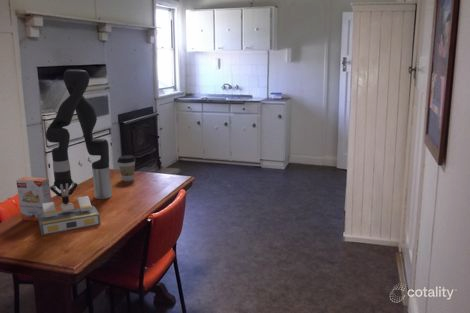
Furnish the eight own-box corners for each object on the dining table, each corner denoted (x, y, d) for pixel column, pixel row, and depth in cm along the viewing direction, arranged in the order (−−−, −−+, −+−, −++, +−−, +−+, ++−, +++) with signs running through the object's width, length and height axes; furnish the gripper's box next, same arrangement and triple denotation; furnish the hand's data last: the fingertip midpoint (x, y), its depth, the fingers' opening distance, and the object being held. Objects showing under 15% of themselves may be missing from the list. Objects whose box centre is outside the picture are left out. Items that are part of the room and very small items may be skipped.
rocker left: (42, 207, 216) (42, 203, 215) (53, 205, 218) (53, 201, 217) (44, 217, 209) (44, 213, 208) (56, 215, 211) (56, 211, 210)
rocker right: (77, 200, 223) (77, 197, 222) (88, 199, 225) (87, 195, 224) (81, 211, 216) (80, 208, 215) (91, 210, 219) (91, 206, 217)
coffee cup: (116, 182, 286) (114, 158, 282) (123, 177, 297) (121, 154, 293) (133, 182, 284) (131, 159, 280) (139, 177, 295) (138, 155, 291)
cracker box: (21, 220, 224) (15, 179, 219) (28, 216, 229) (23, 176, 225) (46, 222, 221) (41, 180, 216) (53, 217, 227) (48, 177, 222)
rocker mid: (61, 208, 220) (60, 204, 220) (71, 206, 222) (71, 202, 222) (62, 210, 212) (62, 205, 212) (74, 208, 214) (73, 204, 214)
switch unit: (39, 225, 217) (37, 214, 216) (94, 215, 229) (93, 204, 227) (41, 235, 205) (40, 224, 204) (100, 224, 216) (99, 213, 215)
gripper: (75, 165, 223) (78, 198, 227) (46, 169, 217) (50, 203, 221) (77, 169, 216) (81, 203, 220) (47, 173, 210) (52, 208, 215)
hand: (65, 203), depth 221 cm, fingers closed
